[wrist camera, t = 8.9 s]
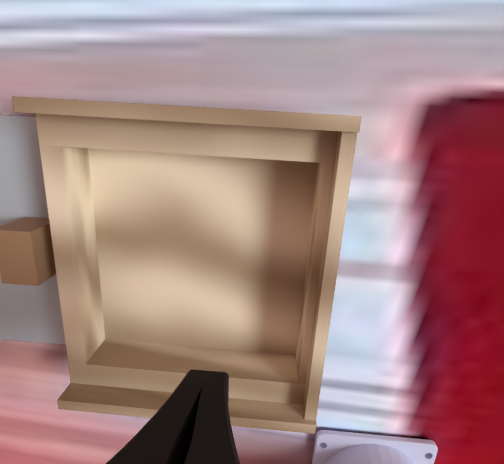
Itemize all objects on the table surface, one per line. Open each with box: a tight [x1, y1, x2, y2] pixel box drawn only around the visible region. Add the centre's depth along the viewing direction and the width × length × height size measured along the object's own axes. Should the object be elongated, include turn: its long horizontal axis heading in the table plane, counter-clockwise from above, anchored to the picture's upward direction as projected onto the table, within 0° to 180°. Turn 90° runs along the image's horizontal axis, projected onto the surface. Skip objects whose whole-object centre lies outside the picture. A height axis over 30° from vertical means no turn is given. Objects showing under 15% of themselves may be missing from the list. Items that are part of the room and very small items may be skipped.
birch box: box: [12, 96, 361, 434], centre depth 18 cm, size 16×14×4 cm
